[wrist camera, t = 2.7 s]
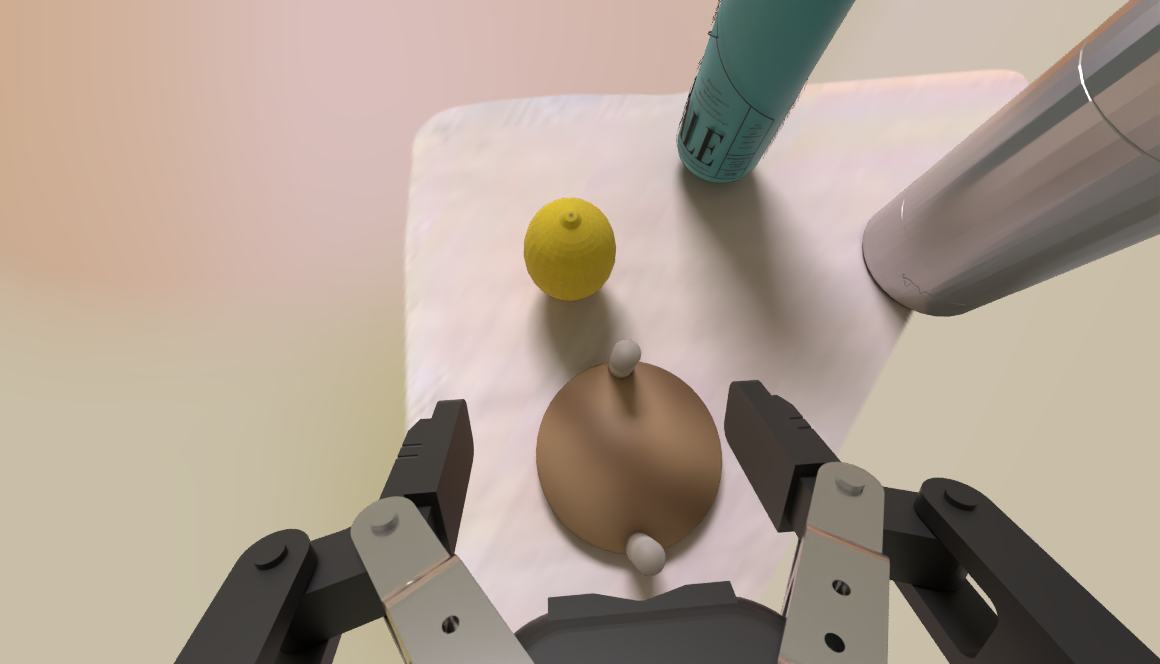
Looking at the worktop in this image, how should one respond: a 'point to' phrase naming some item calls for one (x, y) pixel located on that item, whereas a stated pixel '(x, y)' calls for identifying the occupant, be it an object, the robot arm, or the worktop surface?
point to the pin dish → (629, 457)
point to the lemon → (569, 249)
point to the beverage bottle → (752, 80)
